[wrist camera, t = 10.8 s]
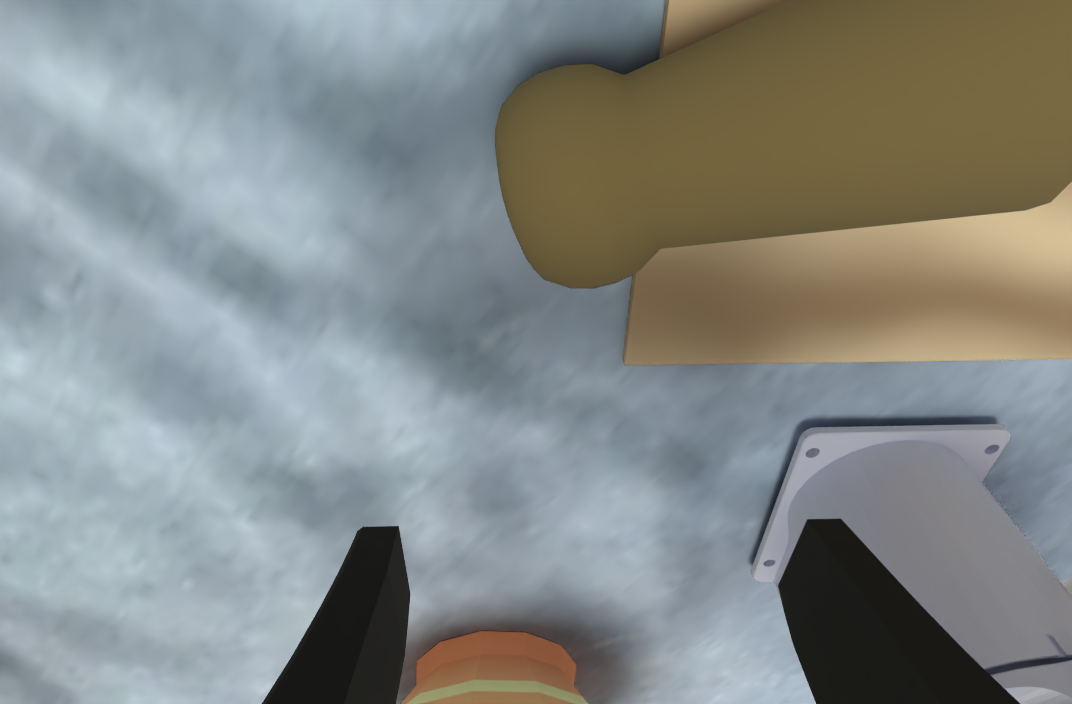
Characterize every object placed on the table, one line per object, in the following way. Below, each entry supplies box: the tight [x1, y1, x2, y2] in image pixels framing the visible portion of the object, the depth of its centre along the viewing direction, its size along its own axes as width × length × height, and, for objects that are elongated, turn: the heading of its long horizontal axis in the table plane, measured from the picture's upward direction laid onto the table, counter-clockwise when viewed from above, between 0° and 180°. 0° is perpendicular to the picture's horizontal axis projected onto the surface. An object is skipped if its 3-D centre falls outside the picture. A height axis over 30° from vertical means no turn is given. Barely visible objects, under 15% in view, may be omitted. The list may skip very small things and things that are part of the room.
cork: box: [495, 0, 1072, 288], centre depth 14 cm, size 6×6×11 cm
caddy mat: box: [623, 0, 1072, 365], centre depth 17 cm, size 18×16×1 cm
